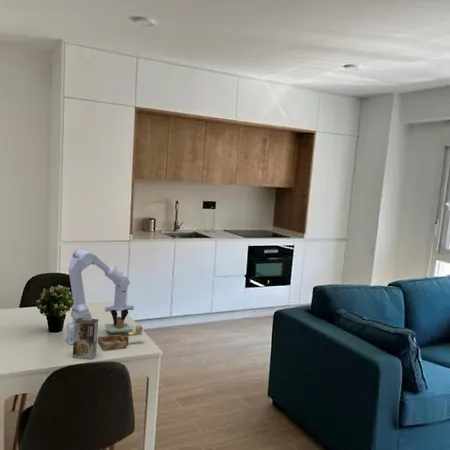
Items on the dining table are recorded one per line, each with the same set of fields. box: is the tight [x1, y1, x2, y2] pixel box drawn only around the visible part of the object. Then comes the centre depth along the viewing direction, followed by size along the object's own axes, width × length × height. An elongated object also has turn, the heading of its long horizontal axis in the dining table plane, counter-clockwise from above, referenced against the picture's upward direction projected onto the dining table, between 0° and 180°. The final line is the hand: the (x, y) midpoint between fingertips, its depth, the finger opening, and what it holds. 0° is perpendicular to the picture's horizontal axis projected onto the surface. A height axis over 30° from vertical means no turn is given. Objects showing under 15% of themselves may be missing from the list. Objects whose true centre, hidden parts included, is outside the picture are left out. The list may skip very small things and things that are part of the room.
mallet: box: [127, 324, 143, 337], centre depth 218 cm, size 6×3×4 cm, turn 119°
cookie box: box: [72, 318, 99, 360], centre depth 198 cm, size 9×6×16 cm
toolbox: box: [97, 334, 130, 351], centre depth 213 cm, size 13×10×4 cm
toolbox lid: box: [104, 316, 133, 333], centre depth 229 cm, size 11×10×5 cm
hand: (118, 324), depth 229 cm, fingers closed on toolbox lid, 3 cm apart
